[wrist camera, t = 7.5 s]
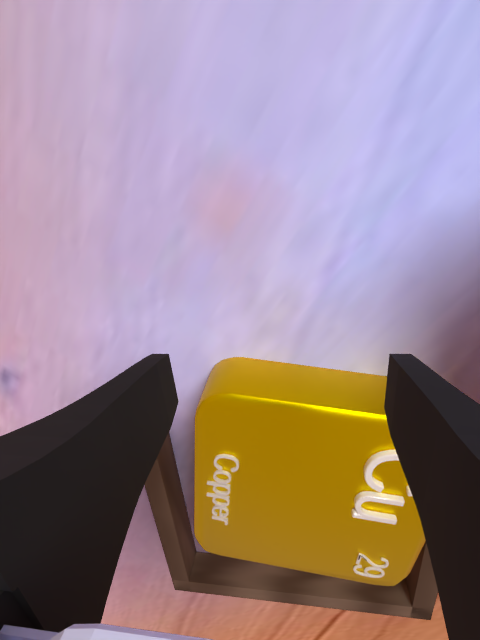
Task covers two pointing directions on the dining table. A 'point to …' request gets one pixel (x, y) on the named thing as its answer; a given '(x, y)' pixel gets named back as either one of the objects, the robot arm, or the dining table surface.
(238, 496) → the element tile
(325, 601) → the walnut holder
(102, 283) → the dining table surface
